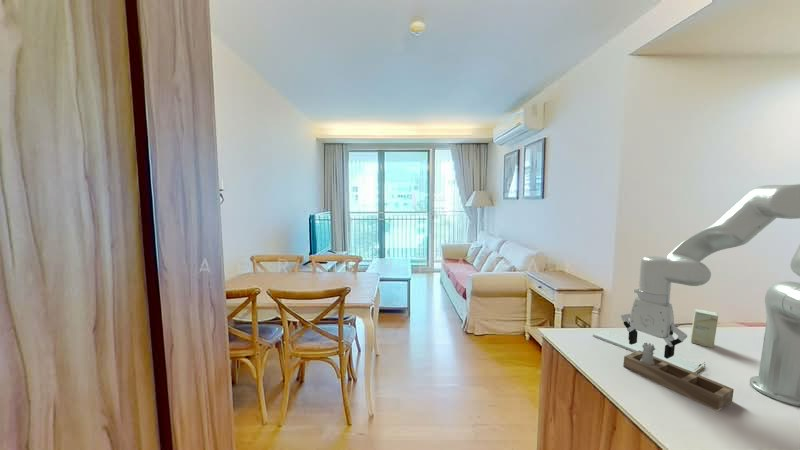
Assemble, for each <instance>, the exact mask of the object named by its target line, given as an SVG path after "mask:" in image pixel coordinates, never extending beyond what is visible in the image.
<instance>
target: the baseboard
mask: <svg viewBox="0 0 800 450" xmlns="http://www.w3.org/2000/svg"><path fill="white" fill-rule="evenodd" d="M592 337H594V338H596V339H597V340H598V339H599V340H601V341H604V342H606V343H609V344H611V345H614V346H617V347H619V348H622V349H625V350H627V351H630V352H632V353H634V352H637V351H639V350H640V351H642V352H643V350H644V348H643V347H642V345H644V343H640V342H638V341H637V343H635V344H632V345H631V344H629V339H628V337H627V338H626V337H623V336H621V335H619V334H615V333H612V332H609V331H607V330H604V329H601V330H600V331H597V332H594V333H593V334H592ZM653 353H654V354H653V356H654V357H657V358H659V359H662V360H664V361H667V362H669V363H671V364H674V365H676V366H679V367H681V368H684V369H686V370H688V371H691V372H693V373H696V374H698V372H700V371H701V370H702V369H704V368H705V367H706V363H705V361H704V362H703V364H704V365H703V364H702V363H700V364H699V363H697V362H694V361H691V360H688V359H685V358H682V357H680V356H678V355H674V356H672V357H670V358H668V359H667V358H665V357H664V353H665V351H663V350H660V349H659V348H658V349H656V348H655V350H654V351H653Z"/></svg>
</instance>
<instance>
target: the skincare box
mask: <svg viewBox="0 0 800 450" xmlns="http://www.w3.org/2000/svg"><path fill="white" fill-rule="evenodd" d="M692 318H693V319H692V326H691V331H690V332H691V333H690V342H691V343H692V344H697V345H700V346H703V345H704V346H703V347H707V346H708V347H709V348H712V349H714V347H715V340H716V334H717V327H718V319H719V314H718V312H716V311H709V310H705V309H704V310H703V309H698V308H694V310H693V317H692ZM708 347H707V348H708Z"/></svg>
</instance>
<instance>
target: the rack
mask: <svg viewBox="0 0 800 450" xmlns="http://www.w3.org/2000/svg"><path fill="white" fill-rule="evenodd" d="M642 356H643V352H642V351H640V350H639V351H637V352H632V353H629V354H625V355H624V356H623V365H622V366H623V367H624V368H626V369H628V370H630V371H631V372H634V373H636V374H639V375H641V376H642V377H645V378H647V379H649V380H651V381H653V382H656V383H658V384H660V385H662V386H663V387H666V388H668V389H670V390H673V391H674V392H677V393H678V394H681V395H683V396H685V397H687V398H688V399H689V398H690V399H692V400H693V401H695V402H698V403H699V404H702V405H704V406H707V407H708V408H710V409H713V410H715V411H717V412H718V411H719V410H721V409H723V408H724V407H726V406H727V405H729V404H730V403H732V402H733V398H734V397H733V396H734V391H735V390H734V388H732V387H729V386H727V385H725V384H723V383H719V382H717V381H716V380H712V379H710V378H708V377H706V376H704V375H703V376H702V375H700V374H698V373H693V372H691V371H688V370H686V369H684V368H681V367H679V366H676V365H674V364H671V363H669V362H667V361H664V360H662V359H659V358H657V357H654V356H653V362H654V364H655V365H654V366H651V365H648V364H646V363H644V362H641V361H639V360H640V359H642Z"/></svg>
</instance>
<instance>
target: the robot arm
mask: <svg viewBox="0 0 800 450" xmlns="http://www.w3.org/2000/svg"><path fill="white" fill-rule="evenodd" d="M776 219H785V220H786V219H788V220H792V219H793V220H794V219H795V220H796V219H798V220H799V219H800V183H799V184H798V183H795V184H769V185H760V186H757V187H755V188H753V189H751V190H750V191H748V192H747V193H746V194H745V195H743V197H741V198H740V199H739V200H738V201H737V202H736V203H734V204H733V205H732V207H731V208H729V209H728V210H727V211H726V212H724V214H722V216H720V217H719V218H718V219H717V220H715V221H714V223H713V224H711V225H710V226H708V227H706V228H704V229H702V230H699V231H698V232H697V233H695V234H693V235H691V236H690V237H688V238H687V239H685V240H683V241H682V242H681V243H680V244H678V245H677V246H676V247H675V248H674V249H673V250H672V251H671V252H669V253H668V255H667V256H666V257H664V256H655V255H650V256H649V255H647V256H643V257H642V258H641V259H640V269H639V282H638V283H639V284H638V288H635V289H634V290H633V291H634V294H637V297H635V298H634V300H633V303H632V307H631V312H630V313H626V314H625V313H624V314H622V315H620V317H621V320H622V322H623V325H624V326H625V327H626V330H627V332H628V337H627V339H629V344H631V345H632V344H635V343H637V342H638V332H641V333H644V334H647V335H650V336H653V337H656V338H659V339H663V340H664V341H665V343H666V344H665V346H664V352H665V353H664V357H665V358H667V359H668V358H670V357H672V356H675V349H676V348H675V346H676V345H678V344H681V343H683V342H684V341H685V340H686V338H688V335H687V333H685V332H684V331H682V330H681V329H680V328H678V327H677V326H675V315H674V308H673V304H672V303H670V302H671V301H670V300H671V289H672V288H671V287H672V283H673V284H677V285H678V284H679V285H683V286H687V287H688V286H689V287H698V286H703V285H705V284H707V283H708V282H709V281H710V280H711V277H712V272H711V270H710V268H709V267H708V266H707V265H706V264H705V263H703V262H701V261H703V260H704V259H705V258H707V257H709V256H710V255H712V254H714V253H717V252H720V251H722V250H723V251H724V250H726V249H727V250H728V249H733V248H737V247H742V246H744V245H746V244H748V243H749V242H750V241H751V240H752V239H754V238H755V237H756V236H757V235H758V234H759V233H761V232H762V231H763V230H764V229H765V228H766V227H768V226H769V225H770V224H772V223H773V222H774V221H775V220H776ZM789 266H790V270H792V272H793V273H794V274H795V275H796V276H798V277H800V244H799V245H798V248H797V249H796V251H795V253H794V255H793V257H792V258H791V261H790V265H789ZM764 305H765V314H766V316H765V319H766V321H765V329H764V335H763V343H762V349H761V350H762V351H761V357H760V363H759V371H758V376H757V375H756V376H751V377H750V378H749V385H750V386H751V387H752V388H754V390H756V391H757V392H759V393H761V394H763V395H764V396H767V397H769V398H772V399H774V400H776V401H779V402H782V403H785V404H789V405H792V406H798V407H800V282H798V281H786V280H785V281H779V282H777V283H776V282H775V283H774V284H772V285H771V286H770V287H768V289H767V290H766V292H765V295H764ZM674 334H675V335H677V338H676V339H675V337H674V336H673V335H674Z"/></svg>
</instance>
